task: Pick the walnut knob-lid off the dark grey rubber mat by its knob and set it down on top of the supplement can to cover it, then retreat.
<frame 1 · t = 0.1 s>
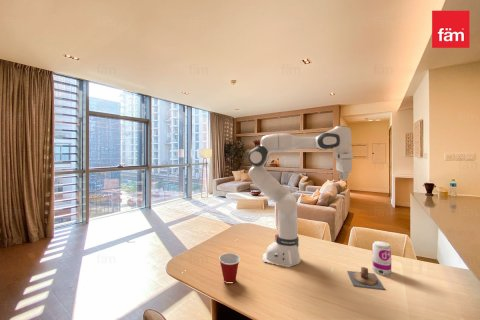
hand: (343, 179, 120), 48 cm above the table, fingers open, 8 cm apart
mat: (364, 280, 106), on the table
lid: (364, 279, 106), resting on mat
plastic cup: (230, 281, 109), on the table
supplement can: (381, 272, 114), on the table
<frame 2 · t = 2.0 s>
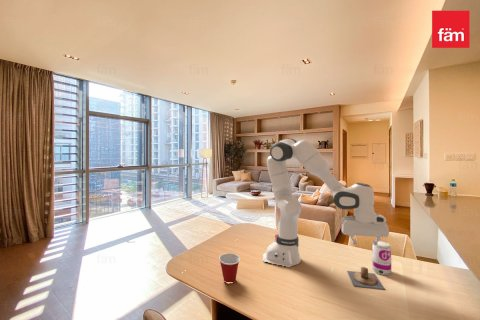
hand: (364, 244, 106), 18 cm above the table, fingers open, 8 cm apart
nothing on the table moved.
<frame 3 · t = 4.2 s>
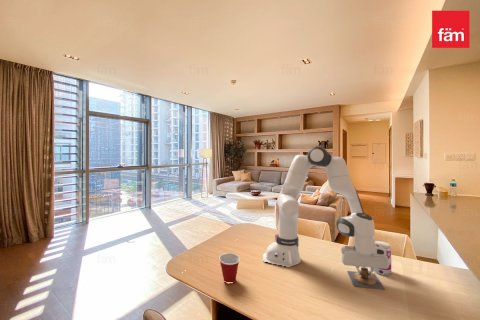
hand: (364, 274, 106), 3 cm above the table, fingers closed on lid, 3 cm apart
lid: (364, 279, 106), resting on mat, touching gripper
everything else where it was.
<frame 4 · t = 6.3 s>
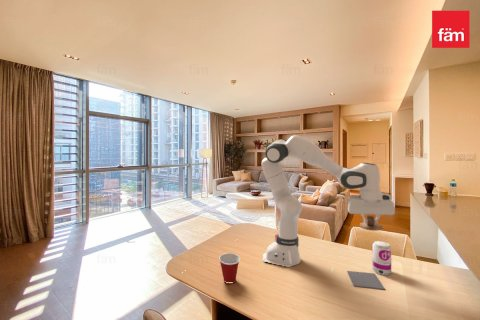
hand: (370, 222, 108), 28 cm above the table, fingers closed on lid, 3 cm apart
lid: (370, 227, 108), point 26 cm above the table, touching gripper
everything else where it was.
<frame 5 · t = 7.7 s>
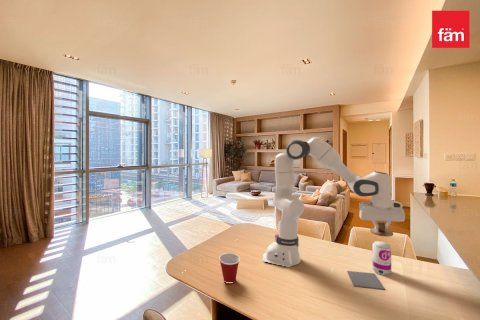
hand: (381, 228, 113), 23 cm above the table, fingers closed on lid, 3 cm apart
lid: (381, 232, 113), point 21 cm above the table, touching gripper
everything else where it was.
when the fingers open (19 cm above the table, at t = 8.7 s): lid drops 1 cm, resting on supplement can.
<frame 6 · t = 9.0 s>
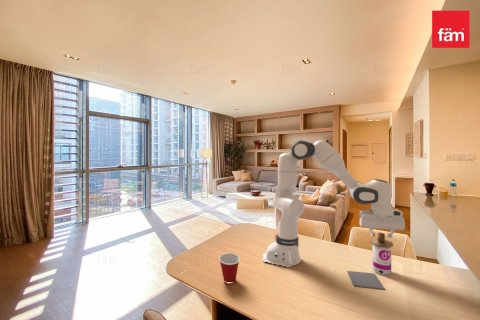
hand: (381, 236, 113), 19 cm above the table, fingers open, 6 cm apart
lid: (381, 243, 113), point 15 cm above the table, touching supplement can
supplement can: (381, 272, 114), on the table, touching lid
everything else where it was.
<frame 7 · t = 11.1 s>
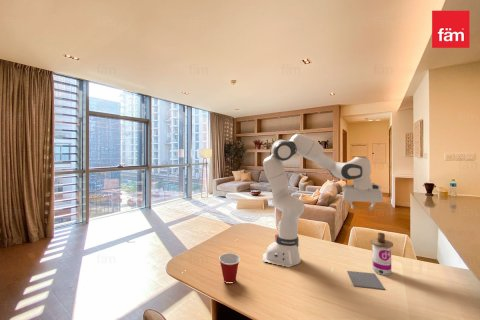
hand: (361, 209, 124), 30 cm above the table, fingers open, 8 cm apart
nothing on the table moved.
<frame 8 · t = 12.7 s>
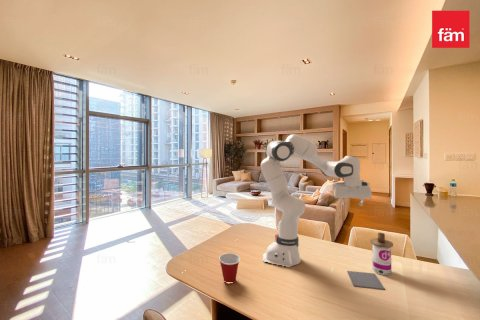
hand: (352, 205, 131), 31 cm above the table, fingers open, 8 cm apart
nothing on the table moved.
at the end: lid 0.1 cm from the supplement can (horizontally); lid point 15.0 cm above the table; lid tilted 0° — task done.
